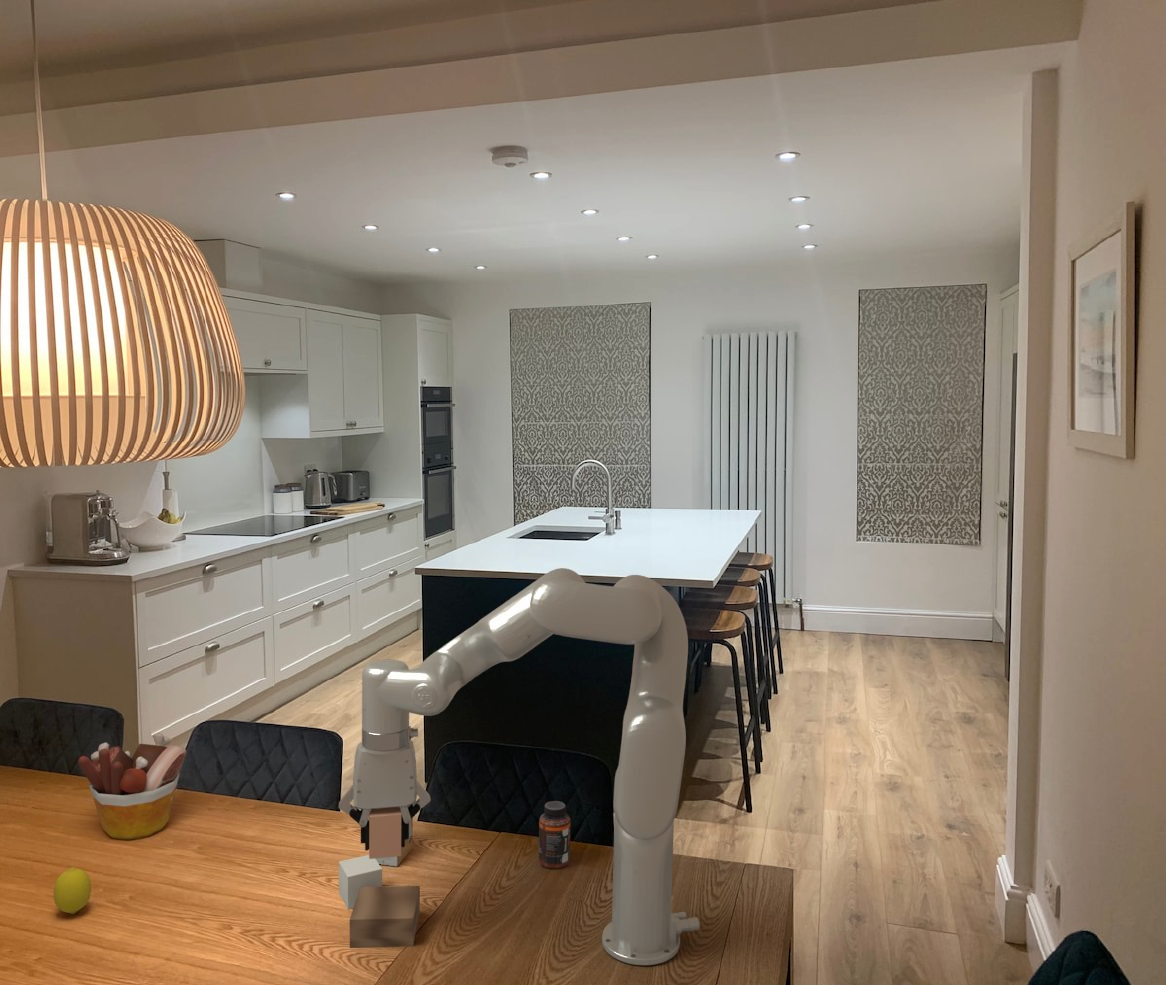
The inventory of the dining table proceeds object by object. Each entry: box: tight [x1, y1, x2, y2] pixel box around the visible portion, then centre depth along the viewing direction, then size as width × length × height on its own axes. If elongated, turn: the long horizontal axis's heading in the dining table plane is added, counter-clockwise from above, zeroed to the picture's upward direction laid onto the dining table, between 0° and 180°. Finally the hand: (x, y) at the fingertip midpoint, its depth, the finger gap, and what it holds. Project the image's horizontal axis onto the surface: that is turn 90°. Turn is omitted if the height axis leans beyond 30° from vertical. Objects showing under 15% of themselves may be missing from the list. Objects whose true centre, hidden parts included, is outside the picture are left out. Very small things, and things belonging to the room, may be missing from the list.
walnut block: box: [349, 885, 421, 949], centre depth 150 cm, size 10×10×5 cm
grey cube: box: [338, 854, 383, 911], centre depth 160 cm, size 6×6×6 cm
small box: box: [375, 805, 414, 867], centre depth 175 cm, size 8×6×10 cm
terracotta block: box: [368, 807, 401, 859], centre depth 149 cm, size 5×5×7 cm
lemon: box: [53, 867, 92, 915], centre depth 153 cm, size 6×6×8 cm
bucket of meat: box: [77, 732, 187, 841], centre depth 183 cm, size 20×16×20 cm
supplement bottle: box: [538, 800, 571, 869], centre depth 173 cm, size 6×6×11 cm
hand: (384, 843), depth 149 cm, fingers closed on terracotta block, 5 cm apart
